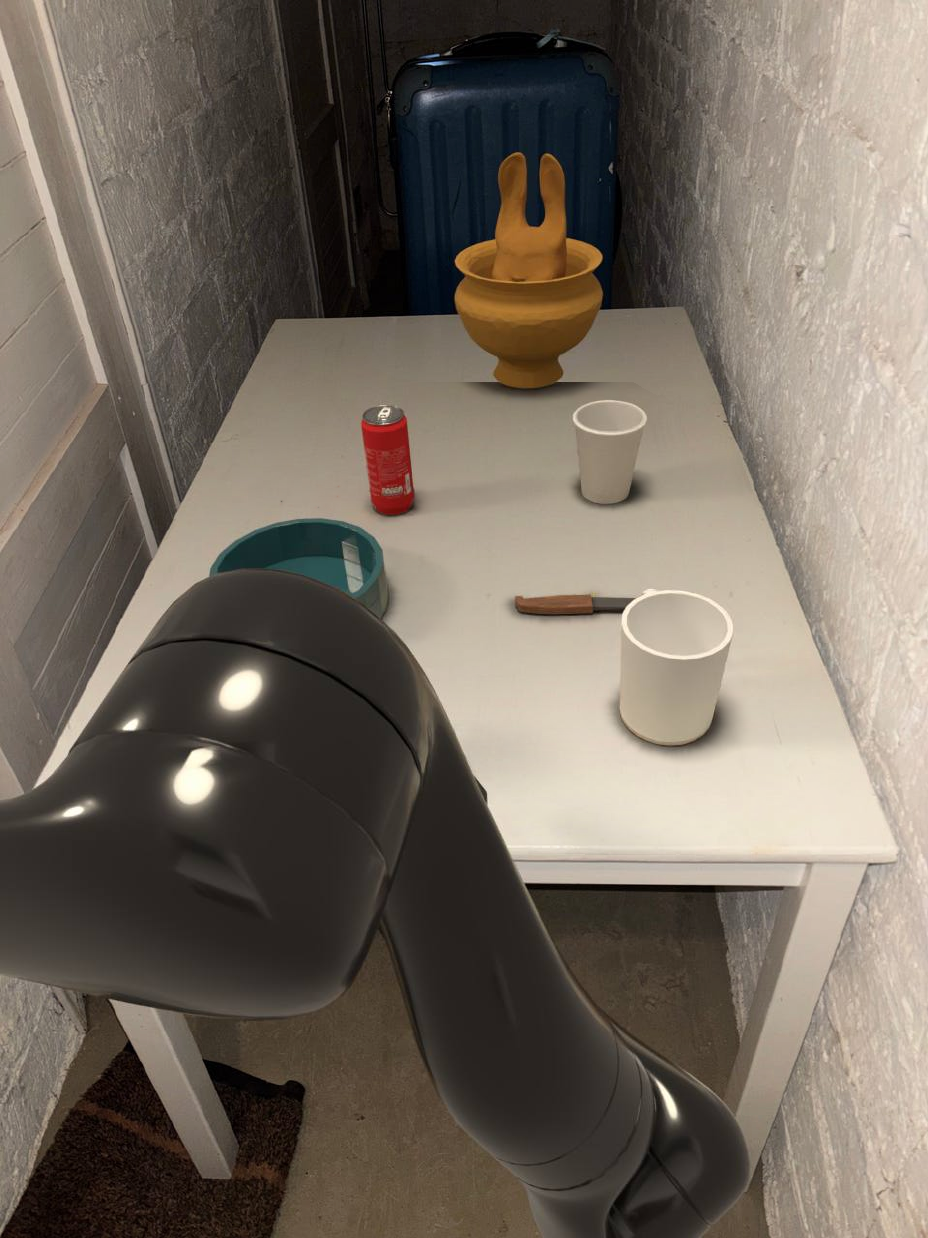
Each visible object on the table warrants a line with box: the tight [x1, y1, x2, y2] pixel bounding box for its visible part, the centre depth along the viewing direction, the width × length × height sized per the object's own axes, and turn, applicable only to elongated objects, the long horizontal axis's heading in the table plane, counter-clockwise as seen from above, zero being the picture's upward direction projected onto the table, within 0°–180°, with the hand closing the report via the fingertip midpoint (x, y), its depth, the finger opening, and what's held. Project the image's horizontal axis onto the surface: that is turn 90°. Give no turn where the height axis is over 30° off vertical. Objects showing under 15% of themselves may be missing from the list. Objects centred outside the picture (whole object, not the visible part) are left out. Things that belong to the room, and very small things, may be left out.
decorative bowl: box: [454, 152, 604, 389], centre depth 128 cm, size 21×21×30 cm
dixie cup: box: [572, 399, 648, 505], centre depth 107 cm, size 8×8×10 cm
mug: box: [619, 588, 734, 747], centre depth 78 cm, size 11×9×10 cm
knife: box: [514, 590, 637, 615], centre depth 92 cm, size 17×1×3 cm
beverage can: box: [360, 404, 415, 516], centre depth 106 cm, size 5×5×12 cm
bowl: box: [208, 517, 389, 620], centre depth 94 cm, size 18×18×5 cm
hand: (330, 758), depth 65 cm, fingers open, 8 cm apart
